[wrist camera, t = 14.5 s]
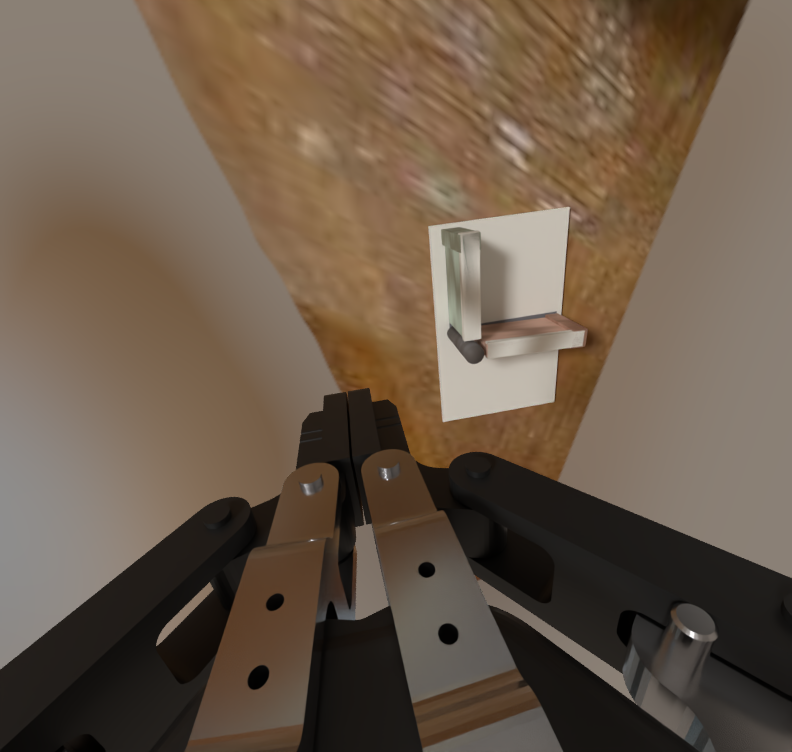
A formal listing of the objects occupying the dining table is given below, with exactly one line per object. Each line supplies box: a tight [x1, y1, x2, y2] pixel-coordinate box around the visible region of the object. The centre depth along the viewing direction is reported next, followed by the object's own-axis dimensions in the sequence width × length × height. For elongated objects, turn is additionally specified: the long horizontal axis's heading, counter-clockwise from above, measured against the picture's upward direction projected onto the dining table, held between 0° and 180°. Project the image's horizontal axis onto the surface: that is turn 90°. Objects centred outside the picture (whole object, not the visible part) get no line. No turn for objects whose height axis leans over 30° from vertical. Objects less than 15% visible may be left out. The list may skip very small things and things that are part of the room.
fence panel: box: [475, 313, 588, 359], centre depth 39 cm, size 10×2×6 cm, turn 95°
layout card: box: [428, 207, 570, 422], centre depth 41 cm, size 22×14×1 cm, turn 7°
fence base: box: [441, 227, 484, 364], centre depth 36 cm, size 12×2×6 cm, turn 7°
